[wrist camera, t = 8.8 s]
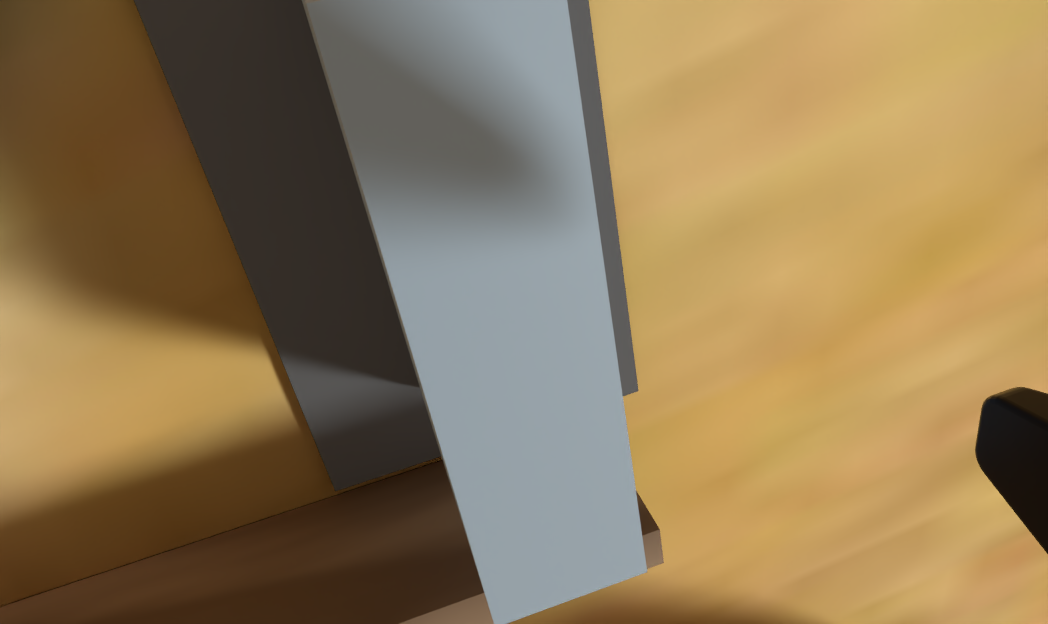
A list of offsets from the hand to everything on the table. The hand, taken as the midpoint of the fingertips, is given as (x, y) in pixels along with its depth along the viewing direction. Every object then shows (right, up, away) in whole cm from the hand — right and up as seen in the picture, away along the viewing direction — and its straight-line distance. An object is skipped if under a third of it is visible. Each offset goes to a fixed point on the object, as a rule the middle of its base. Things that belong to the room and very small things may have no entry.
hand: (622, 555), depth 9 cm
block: (-3, +6, +10) cm, 12 cm away
